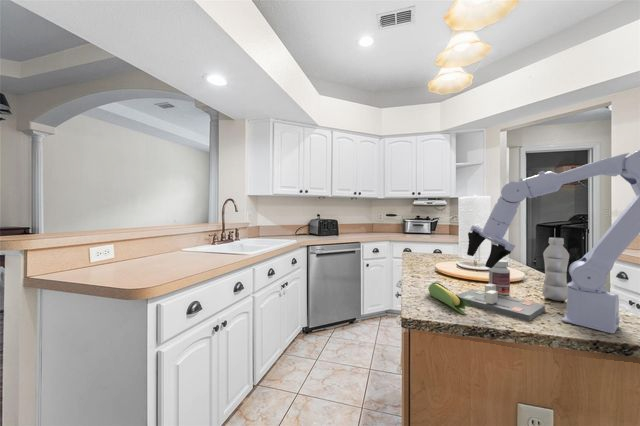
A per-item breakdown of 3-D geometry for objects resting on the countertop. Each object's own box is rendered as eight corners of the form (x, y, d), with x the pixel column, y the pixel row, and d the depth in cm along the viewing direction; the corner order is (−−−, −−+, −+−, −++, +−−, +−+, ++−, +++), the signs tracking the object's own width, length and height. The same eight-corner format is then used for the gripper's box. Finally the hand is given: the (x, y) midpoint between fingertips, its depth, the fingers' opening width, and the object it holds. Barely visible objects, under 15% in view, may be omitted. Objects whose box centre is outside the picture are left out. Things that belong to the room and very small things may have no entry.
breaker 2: (497, 301, 82) (497, 291, 82) (492, 304, 80) (492, 293, 80) (490, 300, 84) (490, 290, 84) (485, 302, 82) (485, 292, 81)
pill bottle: (514, 295, 95) (514, 261, 95) (497, 295, 94) (498, 262, 94) (500, 289, 101) (500, 258, 101) (484, 290, 100) (485, 259, 100)
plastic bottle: (557, 297, 93) (559, 237, 93) (574, 303, 86) (575, 239, 86) (537, 296, 94) (538, 236, 93) (551, 303, 87) (553, 239, 86)
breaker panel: (544, 310, 80) (544, 304, 80) (529, 321, 72) (529, 315, 72) (472, 293, 96) (472, 288, 96) (453, 300, 88) (453, 295, 88)
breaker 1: (495, 293, 90) (495, 284, 90) (490, 295, 88) (491, 286, 88) (489, 292, 91) (489, 283, 91) (484, 294, 89) (484, 285, 89)
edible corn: (439, 294, 96) (439, 280, 96) (474, 316, 76) (474, 299, 76) (424, 294, 96) (424, 281, 96) (455, 316, 76) (456, 299, 76)
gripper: (471, 210, 89) (453, 248, 92) (510, 227, 75) (487, 271, 79) (487, 215, 91) (469, 252, 94) (528, 232, 77) (505, 274, 81)
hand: (478, 261), depth 87 cm, fingers open, 7 cm apart
